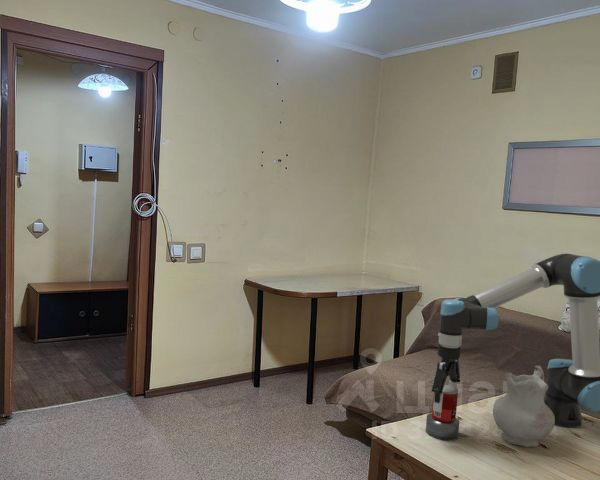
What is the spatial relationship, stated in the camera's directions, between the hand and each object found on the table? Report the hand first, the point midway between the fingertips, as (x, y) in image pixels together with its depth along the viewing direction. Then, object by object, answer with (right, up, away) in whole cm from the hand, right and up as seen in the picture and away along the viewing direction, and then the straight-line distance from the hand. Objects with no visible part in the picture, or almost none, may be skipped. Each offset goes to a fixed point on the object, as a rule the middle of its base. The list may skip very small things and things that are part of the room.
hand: (444, 405), depth 178 cm
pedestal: (-1, -10, +1) cm, 10 cm away
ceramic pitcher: (+27, -12, 0) cm, 29 cm away
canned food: (0, -5, +1) cm, 5 cm away
